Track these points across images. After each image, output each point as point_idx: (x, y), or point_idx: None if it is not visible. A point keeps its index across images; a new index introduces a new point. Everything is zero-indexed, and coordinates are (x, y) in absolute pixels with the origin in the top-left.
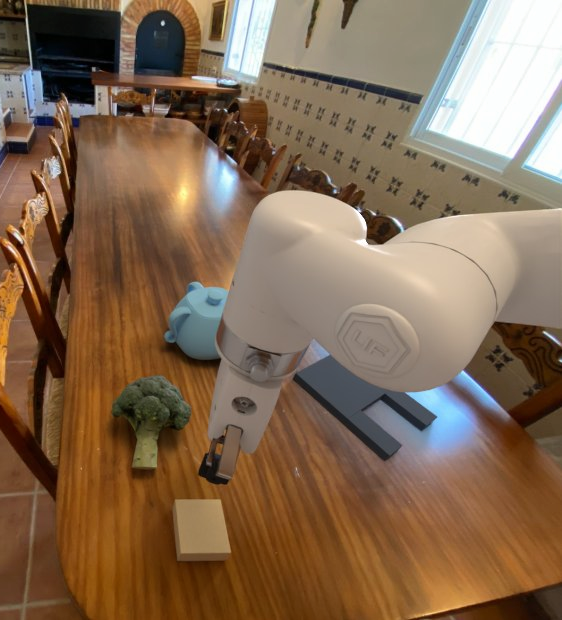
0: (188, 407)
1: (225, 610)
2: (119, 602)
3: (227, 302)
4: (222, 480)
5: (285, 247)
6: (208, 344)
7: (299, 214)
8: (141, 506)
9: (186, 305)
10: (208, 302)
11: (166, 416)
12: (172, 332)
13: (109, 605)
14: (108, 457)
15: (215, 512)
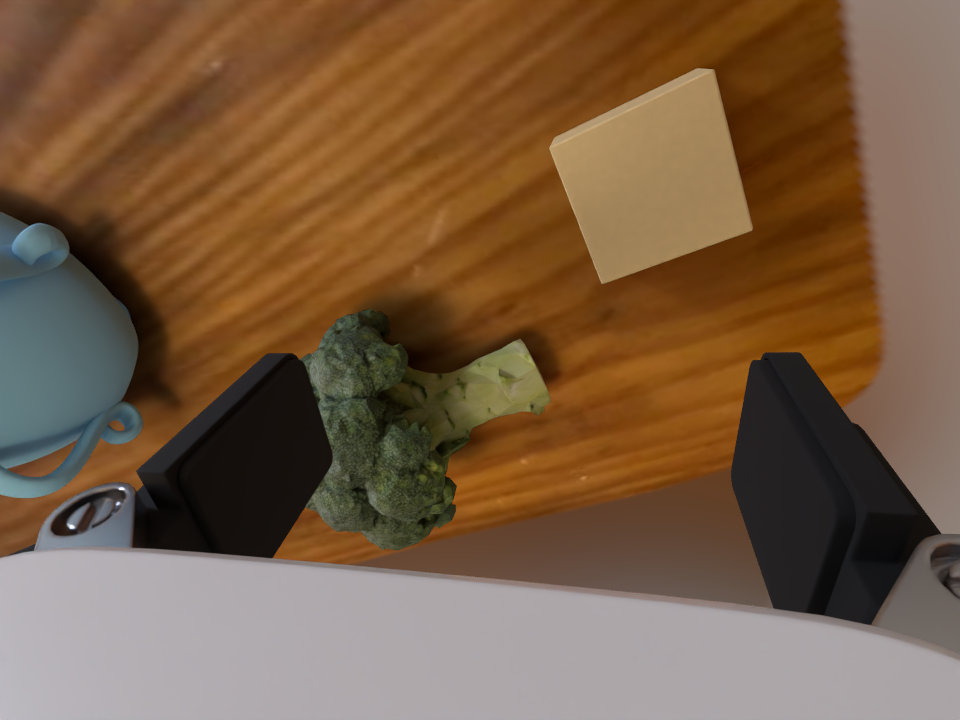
0: (326, 364)
1: (842, 32)
2: (859, 319)
3: None
4: (882, 456)
5: None
6: (47, 334)
7: None
8: (622, 335)
9: None
10: None
11: (409, 440)
12: (102, 433)
13: (869, 338)
14: (534, 436)
15: (598, 154)
